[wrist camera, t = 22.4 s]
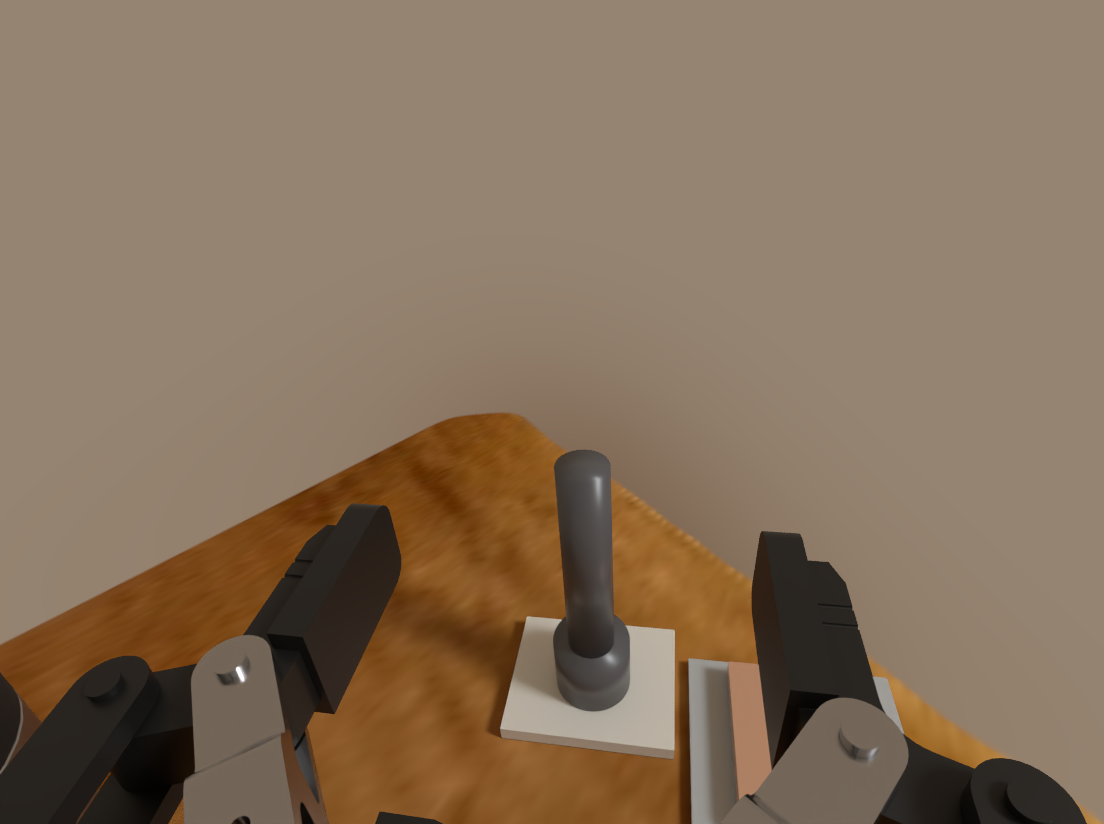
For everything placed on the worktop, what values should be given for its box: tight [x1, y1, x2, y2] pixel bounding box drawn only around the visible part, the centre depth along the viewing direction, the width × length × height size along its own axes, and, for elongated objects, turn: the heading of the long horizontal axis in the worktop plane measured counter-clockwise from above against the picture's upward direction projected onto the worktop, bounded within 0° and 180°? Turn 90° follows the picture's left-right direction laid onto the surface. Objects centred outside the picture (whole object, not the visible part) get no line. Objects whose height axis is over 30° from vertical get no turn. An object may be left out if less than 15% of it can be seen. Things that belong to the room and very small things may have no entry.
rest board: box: [500, 616, 675, 759], centre depth 44 cm, size 11×9×1 cm
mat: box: [688, 658, 904, 824], centre depth 38 cm, size 13×14×1 cm
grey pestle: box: [553, 450, 630, 712], centre depth 39 cm, size 5×5×18 cm
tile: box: [726, 661, 772, 803], centre depth 38 cm, size 8×2×10 cm
